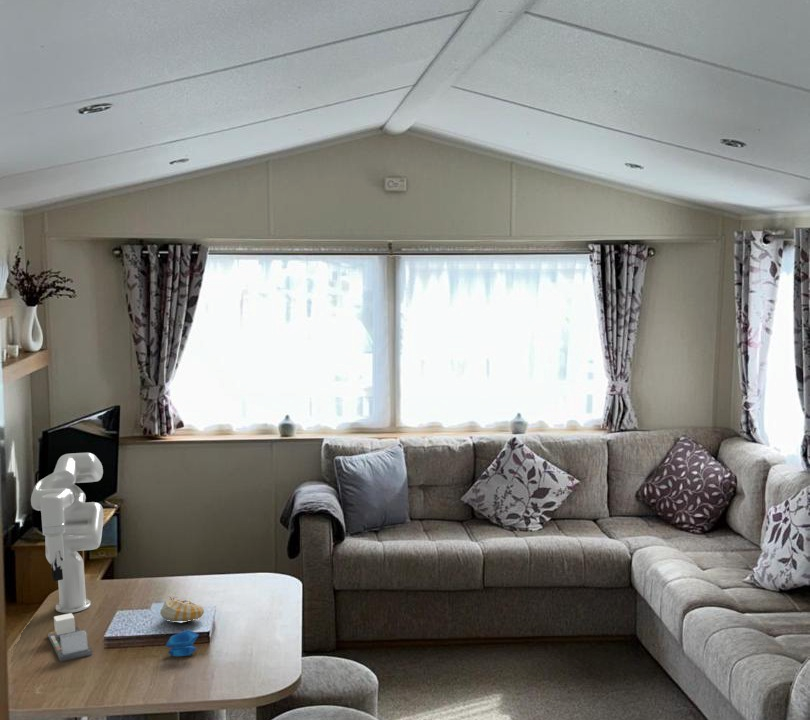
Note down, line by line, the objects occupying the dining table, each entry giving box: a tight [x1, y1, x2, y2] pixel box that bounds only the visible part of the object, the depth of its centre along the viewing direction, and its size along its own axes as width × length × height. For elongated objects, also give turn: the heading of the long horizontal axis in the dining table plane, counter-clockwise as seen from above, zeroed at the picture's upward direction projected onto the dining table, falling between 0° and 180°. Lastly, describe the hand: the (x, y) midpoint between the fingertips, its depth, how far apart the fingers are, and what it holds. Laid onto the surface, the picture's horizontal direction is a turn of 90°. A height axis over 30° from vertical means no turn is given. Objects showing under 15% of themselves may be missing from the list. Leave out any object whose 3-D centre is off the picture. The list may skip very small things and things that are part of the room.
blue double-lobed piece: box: [165, 629, 200, 657], centre depth 316 cm, size 7×9×12 cm
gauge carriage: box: [50, 613, 76, 635], centre depth 331 cm, size 5×8×5 cm, turn 120°
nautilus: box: [159, 596, 205, 621], centre depth 347 cm, size 8×22×15 cm
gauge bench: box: [47, 626, 93, 663], centre depth 326 cm, size 24×10×8 cm, turn 30°
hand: (57, 579), depth 337 cm, fingers closed
